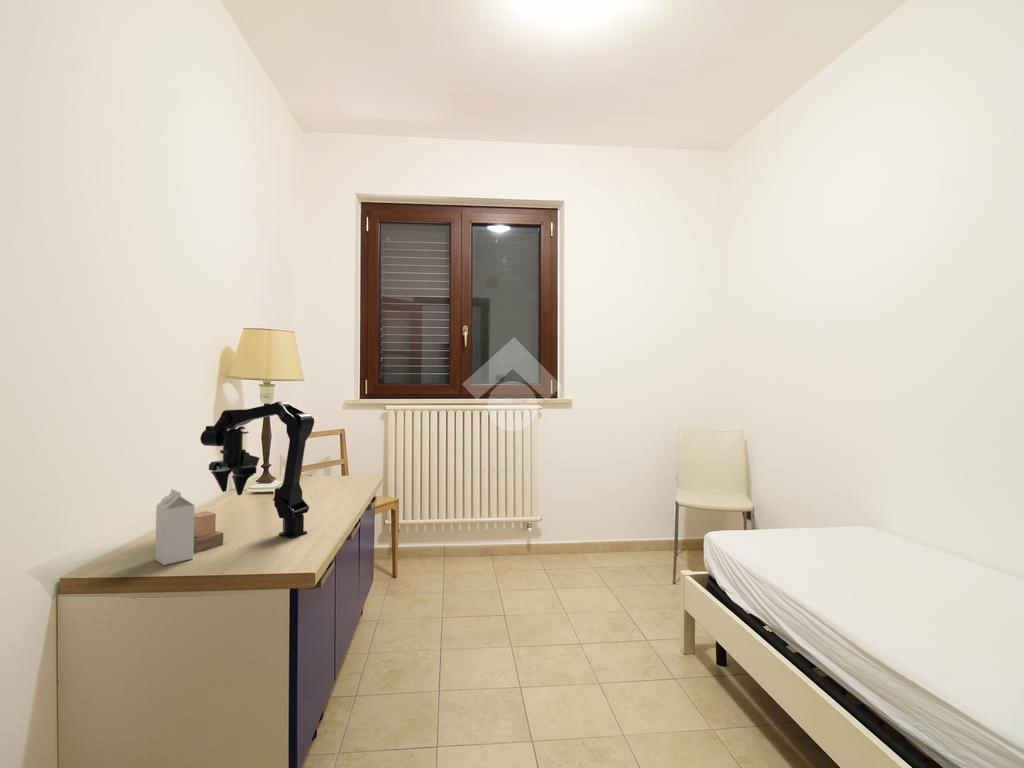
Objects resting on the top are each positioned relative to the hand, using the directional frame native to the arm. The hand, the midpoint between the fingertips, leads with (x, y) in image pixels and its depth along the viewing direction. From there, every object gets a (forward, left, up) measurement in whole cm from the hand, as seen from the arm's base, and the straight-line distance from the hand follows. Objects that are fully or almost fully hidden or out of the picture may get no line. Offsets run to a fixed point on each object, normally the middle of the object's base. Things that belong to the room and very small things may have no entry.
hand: (231, 493), depth 168 cm
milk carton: (-16, +25, -12) cm, 32 cm away
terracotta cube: (-11, +15, -8) cm, 20 cm away
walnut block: (-11, +15, -12) cm, 22 cm away
